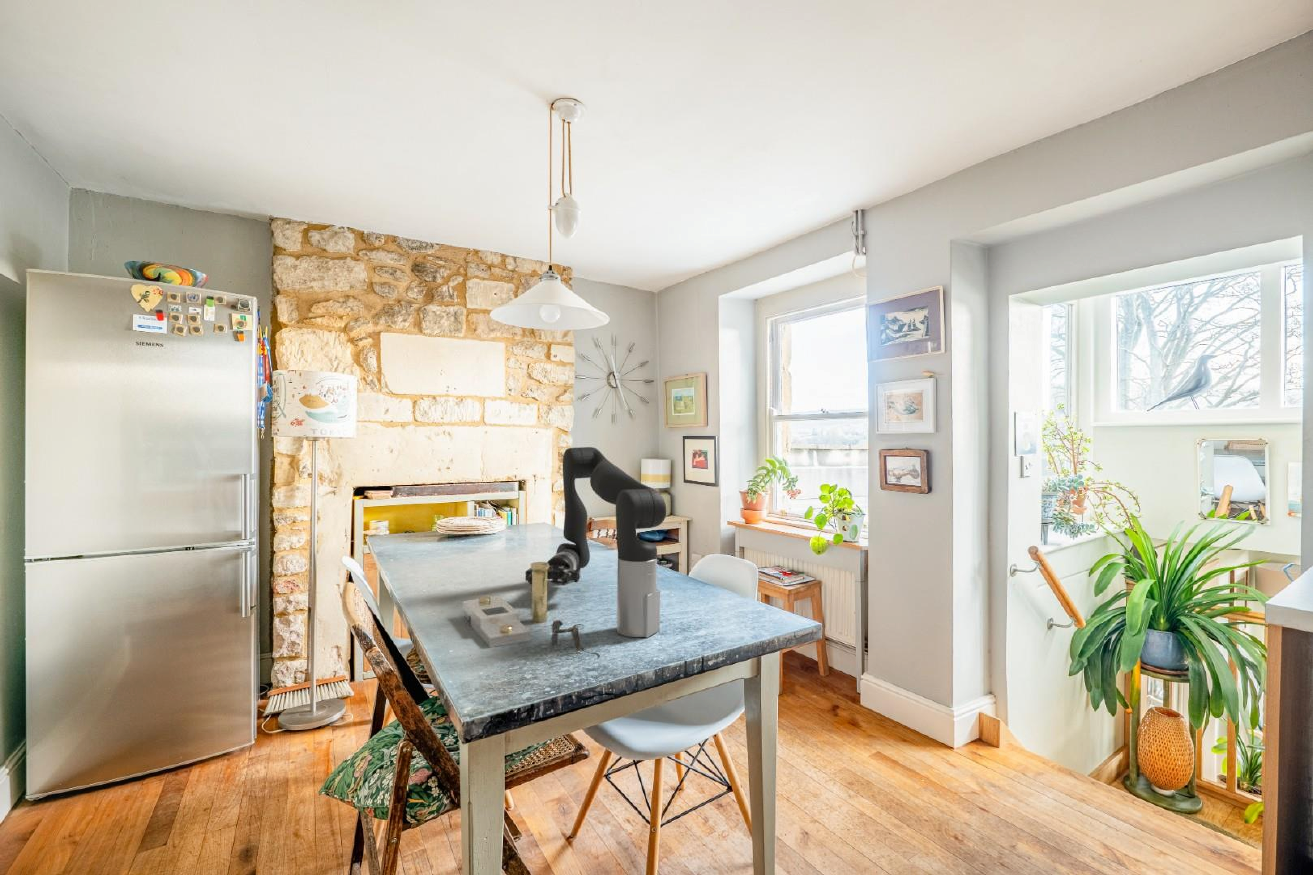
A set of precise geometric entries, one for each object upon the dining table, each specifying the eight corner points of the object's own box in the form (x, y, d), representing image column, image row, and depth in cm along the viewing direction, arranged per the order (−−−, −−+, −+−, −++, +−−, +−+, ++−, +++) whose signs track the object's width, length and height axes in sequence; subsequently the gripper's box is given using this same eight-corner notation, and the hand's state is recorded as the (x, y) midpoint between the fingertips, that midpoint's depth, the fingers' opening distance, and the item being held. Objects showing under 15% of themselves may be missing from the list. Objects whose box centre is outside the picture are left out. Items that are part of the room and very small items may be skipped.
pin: (552, 619, 144) (552, 563, 144) (540, 624, 140) (541, 566, 140) (538, 616, 146) (538, 561, 146) (526, 621, 142) (527, 564, 142)
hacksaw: (553, 625, 141) (553, 619, 141) (595, 623, 142) (595, 617, 142) (549, 663, 117) (549, 656, 117) (600, 661, 118) (600, 654, 118)
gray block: (530, 640, 129) (530, 618, 129) (490, 647, 124) (490, 625, 124) (498, 611, 149) (499, 593, 149) (463, 616, 145) (463, 597, 145)
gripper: (536, 553, 166) (520, 565, 150) (585, 554, 166) (574, 567, 149) (536, 579, 166) (519, 594, 150) (585, 580, 166) (574, 596, 149)
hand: (547, 580), depth 150 cm, fingers open, 8 cm apart
